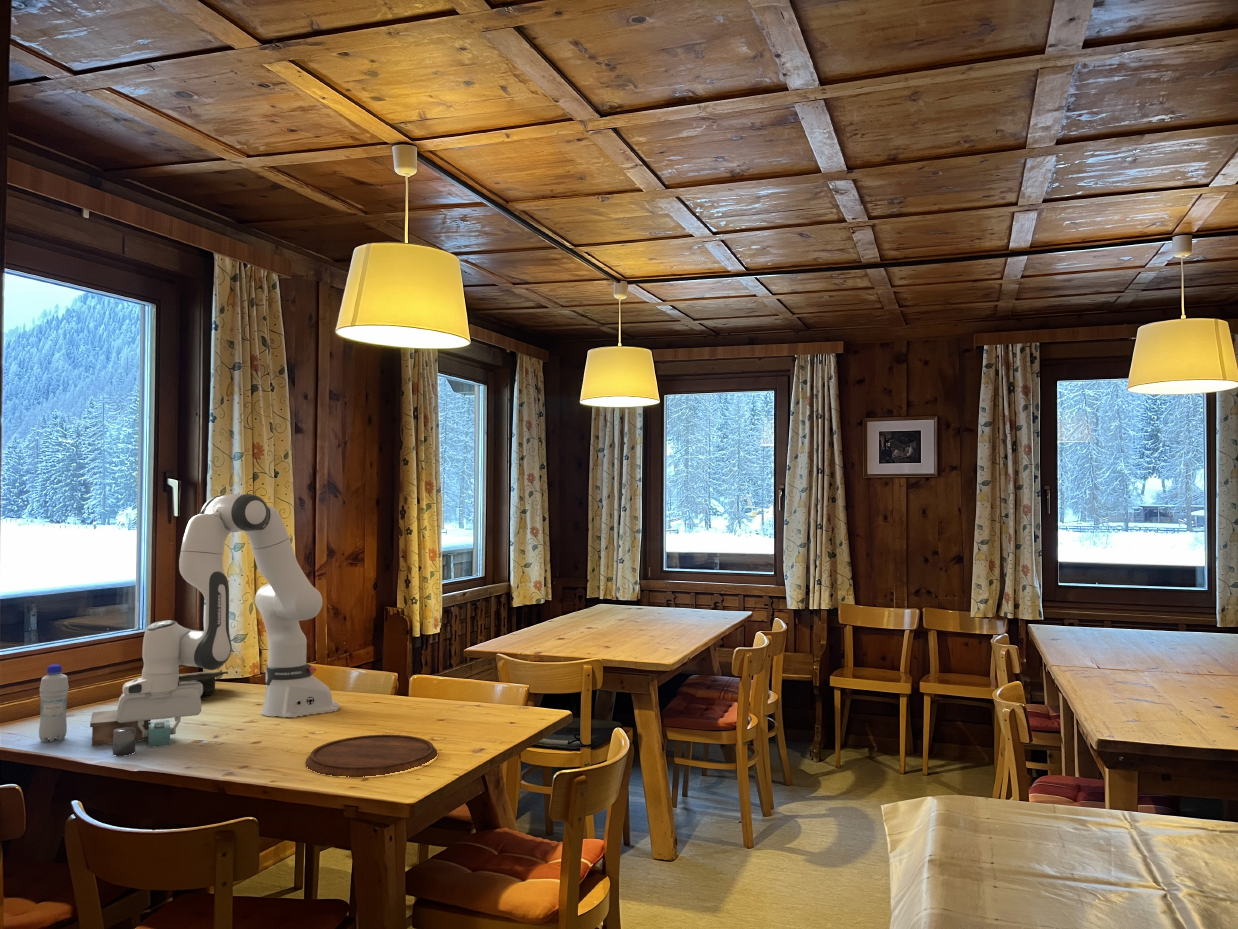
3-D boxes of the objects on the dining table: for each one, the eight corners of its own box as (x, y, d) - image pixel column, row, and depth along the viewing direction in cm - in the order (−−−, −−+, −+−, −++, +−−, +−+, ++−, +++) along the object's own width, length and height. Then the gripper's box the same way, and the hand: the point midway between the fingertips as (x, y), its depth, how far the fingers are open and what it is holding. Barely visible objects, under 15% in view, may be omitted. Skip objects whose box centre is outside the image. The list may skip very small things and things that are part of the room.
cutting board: (408, 783, 208) (408, 772, 208) (279, 776, 213) (279, 765, 214) (455, 746, 240) (456, 736, 240) (342, 740, 245) (342, 731, 245)
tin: (135, 749, 233) (135, 726, 234) (135, 754, 229) (135, 730, 229) (112, 752, 231) (113, 728, 231) (112, 757, 227) (113, 733, 227)
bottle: (36, 744, 238) (38, 667, 239) (39, 738, 244) (41, 663, 244) (66, 741, 241) (68, 665, 242) (68, 735, 247) (70, 661, 248)
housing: (168, 737, 246) (169, 717, 246) (169, 745, 238) (170, 724, 238) (148, 739, 244) (148, 719, 244) (148, 747, 236) (148, 726, 236)
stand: (149, 728, 255) (150, 707, 255) (150, 740, 242) (150, 717, 243) (91, 734, 248) (92, 712, 248) (89, 746, 236) (90, 723, 236)
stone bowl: (186, 706, 281) (184, 676, 281) (126, 706, 290) (125, 677, 290) (245, 690, 304) (243, 662, 305) (188, 690, 313) (187, 663, 313)
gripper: (202, 677, 249) (201, 728, 249) (117, 684, 239) (115, 737, 239) (203, 681, 243) (202, 733, 243) (116, 688, 234) (115, 743, 233)
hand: (158, 735), depth 241 cm, fingers closed on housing, 5 cm apart
